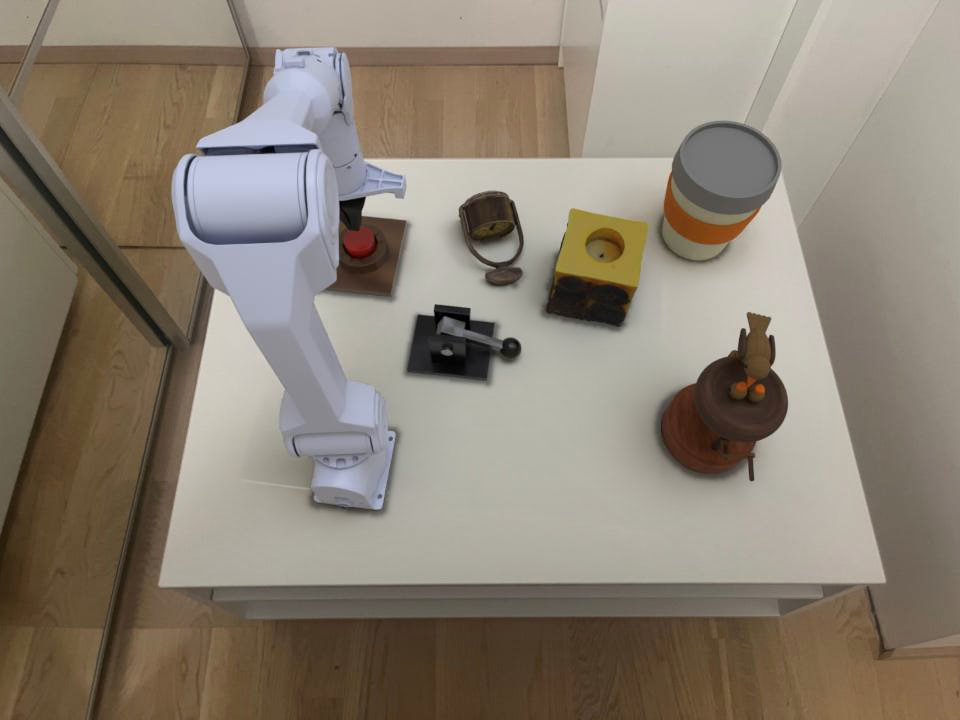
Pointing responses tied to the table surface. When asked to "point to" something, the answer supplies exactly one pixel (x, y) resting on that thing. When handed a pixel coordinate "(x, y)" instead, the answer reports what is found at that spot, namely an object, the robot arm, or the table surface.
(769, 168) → the reusable coffee cup
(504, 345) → the lever
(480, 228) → the brown desk clock
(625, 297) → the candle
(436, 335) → the bracket
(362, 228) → the button
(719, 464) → the music box
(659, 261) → the table surface
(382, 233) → the button block
